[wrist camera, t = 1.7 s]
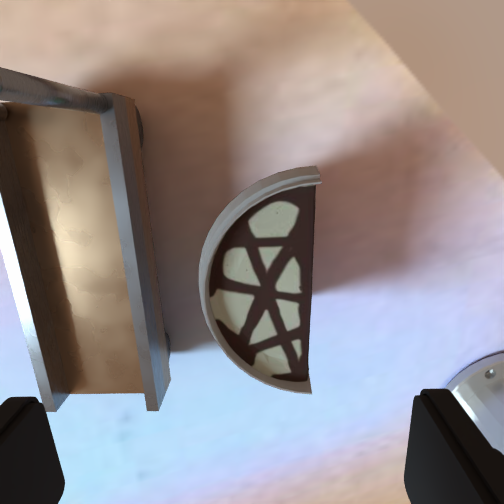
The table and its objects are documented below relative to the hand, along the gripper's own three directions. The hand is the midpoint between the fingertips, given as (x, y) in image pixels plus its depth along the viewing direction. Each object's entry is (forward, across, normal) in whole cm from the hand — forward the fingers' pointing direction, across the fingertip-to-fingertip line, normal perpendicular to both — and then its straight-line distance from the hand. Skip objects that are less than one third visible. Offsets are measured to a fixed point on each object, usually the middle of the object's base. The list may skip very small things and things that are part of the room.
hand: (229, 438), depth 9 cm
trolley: (+19, +10, 0) cm, 22 cm away
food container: (+19, -1, 0) cm, 19 cm away
